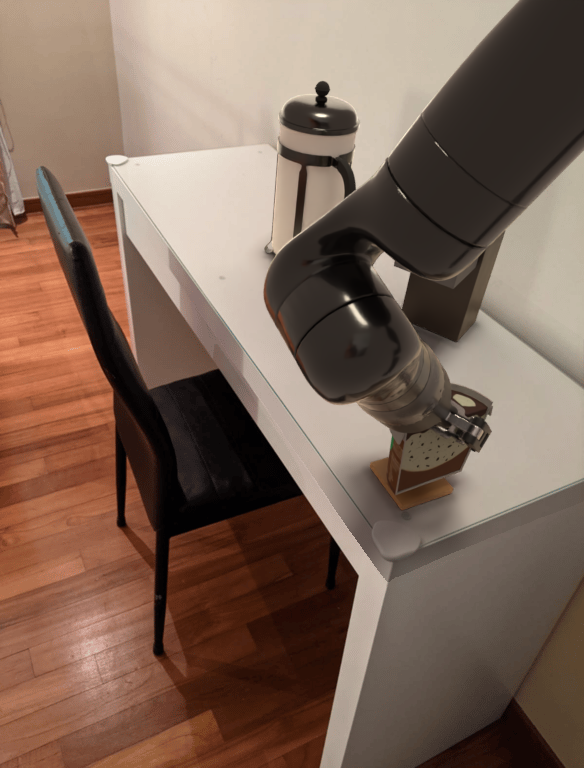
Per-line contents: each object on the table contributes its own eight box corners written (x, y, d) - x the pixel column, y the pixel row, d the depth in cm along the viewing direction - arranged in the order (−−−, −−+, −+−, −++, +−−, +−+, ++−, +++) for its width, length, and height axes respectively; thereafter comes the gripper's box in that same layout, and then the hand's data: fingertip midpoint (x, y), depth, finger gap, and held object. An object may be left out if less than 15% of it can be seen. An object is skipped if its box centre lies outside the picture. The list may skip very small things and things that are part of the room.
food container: (437, 434, 75) (459, 368, 69) (471, 468, 70) (496, 400, 64) (353, 461, 69) (368, 392, 63) (383, 499, 65) (402, 429, 59)
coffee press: (246, 269, 106) (254, 83, 87) (282, 234, 118) (296, 63, 99) (339, 296, 102) (369, 106, 83) (367, 257, 114) (399, 83, 95)
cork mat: (418, 452, 75) (419, 447, 75) (452, 493, 70) (453, 488, 70) (369, 466, 72) (370, 462, 72) (401, 510, 68) (402, 506, 67)
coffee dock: (475, 320, 100) (505, 230, 90) (433, 367, 89) (462, 270, 79) (420, 298, 104) (443, 209, 94) (374, 341, 93) (394, 245, 83)
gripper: (498, 382, 49) (512, 420, 63) (353, 309, 55) (396, 358, 70) (450, 463, 49) (474, 481, 63) (310, 380, 55) (362, 415, 70)
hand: (433, 417), depth 67 cm, fingers closed on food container, 7 cm apart
